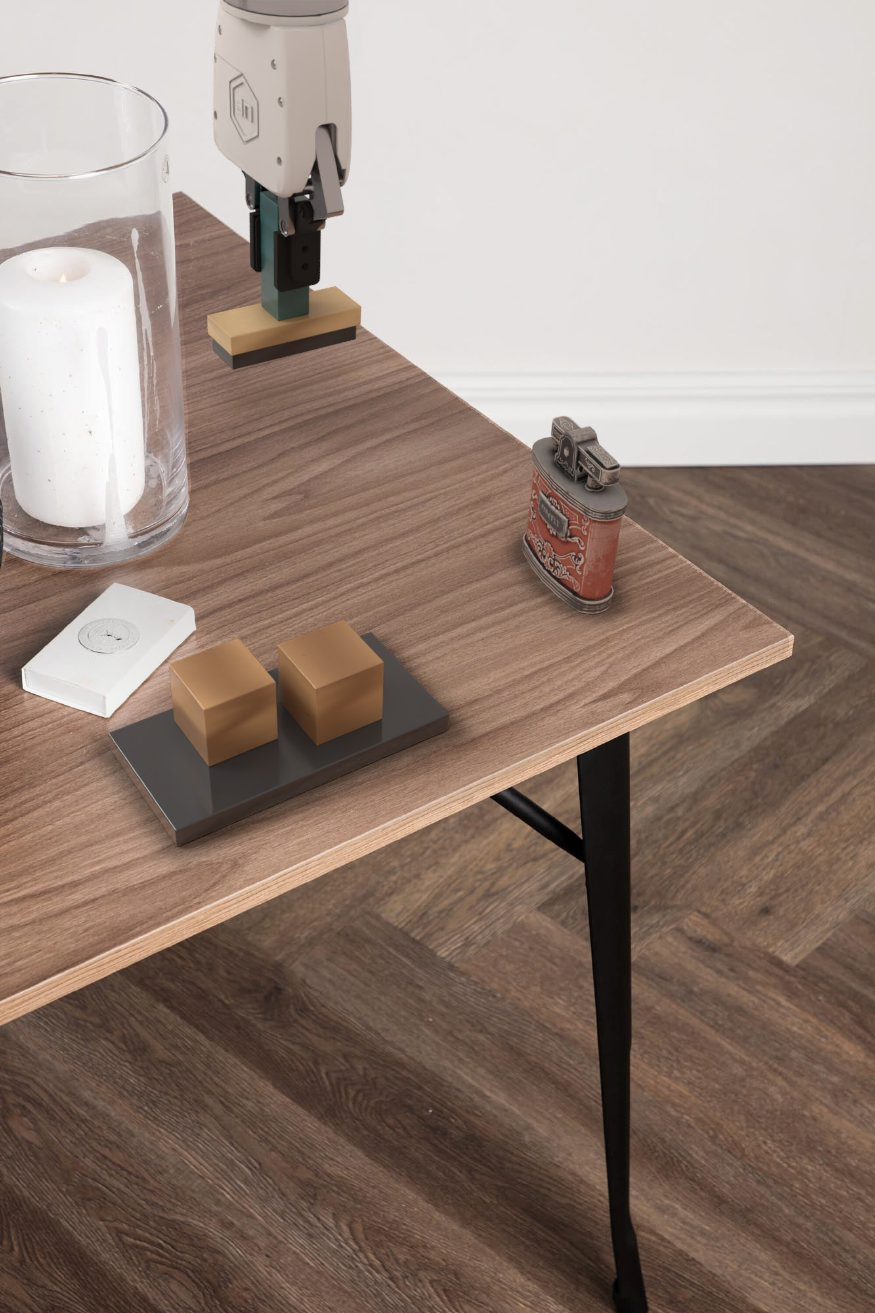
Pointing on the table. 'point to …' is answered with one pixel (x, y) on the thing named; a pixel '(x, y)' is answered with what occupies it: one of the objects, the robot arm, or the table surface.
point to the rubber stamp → (281, 311)
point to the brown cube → (330, 681)
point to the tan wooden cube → (224, 701)
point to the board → (266, 757)
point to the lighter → (574, 516)
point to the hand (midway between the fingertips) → (285, 274)
